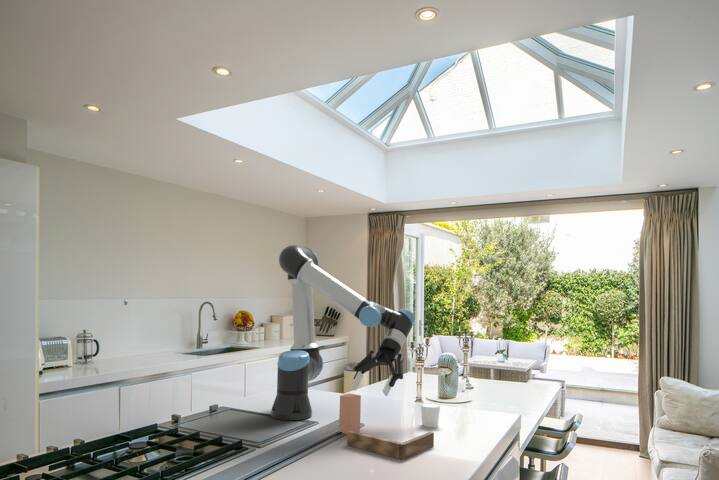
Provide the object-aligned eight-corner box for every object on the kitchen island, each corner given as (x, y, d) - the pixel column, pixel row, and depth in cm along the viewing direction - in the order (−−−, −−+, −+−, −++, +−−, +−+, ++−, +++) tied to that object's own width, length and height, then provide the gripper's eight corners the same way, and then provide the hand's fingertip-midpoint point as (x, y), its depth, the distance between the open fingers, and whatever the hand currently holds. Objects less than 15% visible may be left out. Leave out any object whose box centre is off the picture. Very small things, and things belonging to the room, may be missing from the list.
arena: (346, 445, 158) (347, 431, 158) (379, 433, 171) (379, 421, 172) (403, 459, 145) (403, 445, 145) (433, 446, 159) (433, 432, 159)
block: (338, 432, 172) (340, 395, 173) (348, 429, 176) (349, 393, 177) (350, 435, 169) (351, 397, 170) (359, 431, 173) (360, 395, 174)
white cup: (439, 428, 180) (439, 407, 181) (419, 426, 181) (419, 406, 182) (440, 423, 187) (440, 403, 187) (421, 422, 188) (421, 402, 189)
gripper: (424, 353, 187) (403, 402, 174) (369, 347, 202) (345, 392, 189) (417, 339, 184) (394, 388, 170) (361, 335, 199) (336, 379, 185)
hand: (368, 390), depth 180 cm, fingers open, 13 cm apart
